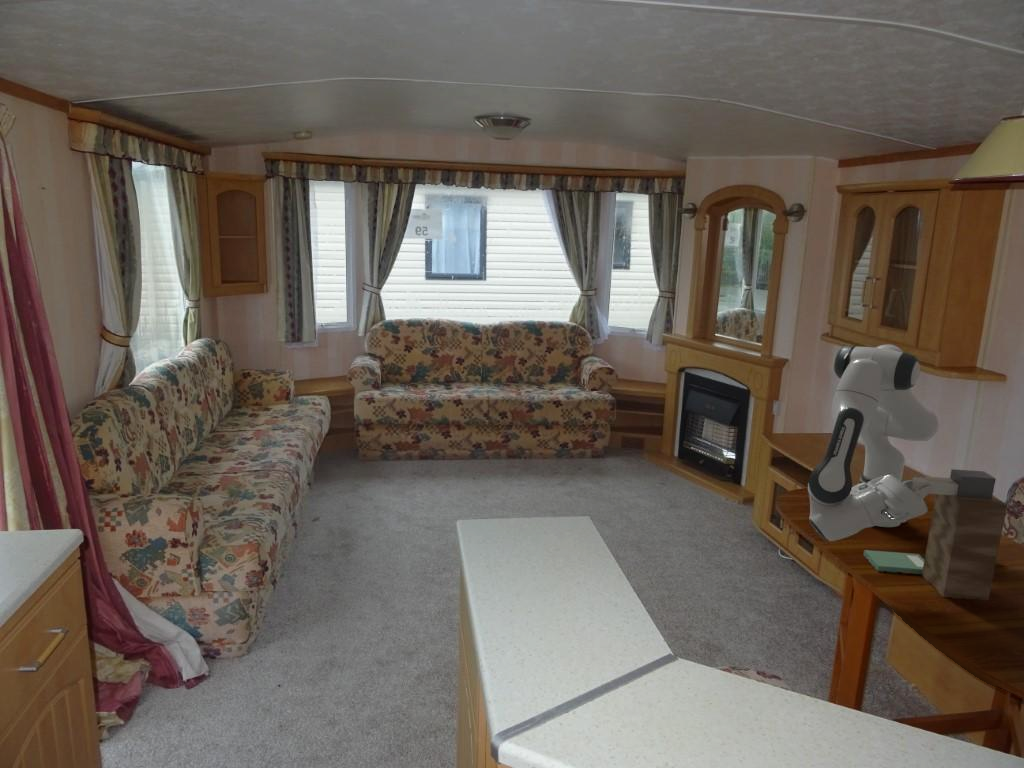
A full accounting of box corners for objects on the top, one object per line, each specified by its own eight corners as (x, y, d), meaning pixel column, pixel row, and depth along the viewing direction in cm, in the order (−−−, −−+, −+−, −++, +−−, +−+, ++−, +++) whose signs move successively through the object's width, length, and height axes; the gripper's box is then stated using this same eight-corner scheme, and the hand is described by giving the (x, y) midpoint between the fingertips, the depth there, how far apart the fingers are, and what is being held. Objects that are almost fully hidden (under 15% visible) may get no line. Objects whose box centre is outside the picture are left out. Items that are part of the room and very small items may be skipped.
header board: (863, 554, 210) (864, 550, 210) (917, 558, 209) (918, 554, 209) (877, 570, 200) (878, 565, 200) (934, 575, 199) (935, 570, 199)
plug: (909, 486, 191) (913, 466, 190) (980, 491, 189) (983, 471, 188) (919, 494, 185) (923, 473, 184) (991, 499, 184) (995, 478, 183)
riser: (921, 575, 199) (937, 484, 193) (963, 578, 198) (981, 487, 192) (943, 597, 187) (961, 501, 182) (988, 600, 186) (1007, 504, 181)
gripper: (886, 511, 179) (942, 487, 177) (855, 482, 199) (905, 461, 197) (896, 532, 180) (951, 510, 178) (864, 502, 200) (914, 481, 198)
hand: (927, 484), depth 187 cm, fingers closed on plug, 3 cm apart
